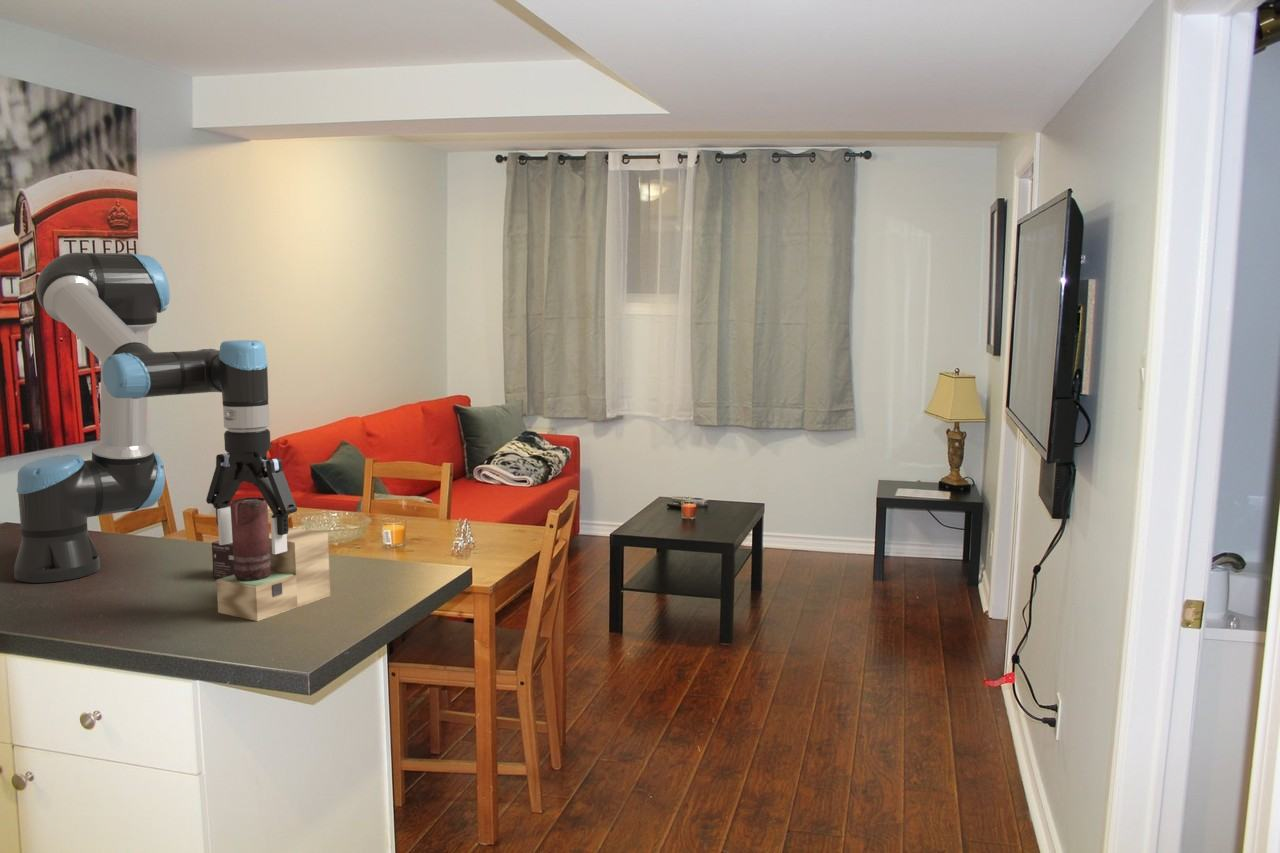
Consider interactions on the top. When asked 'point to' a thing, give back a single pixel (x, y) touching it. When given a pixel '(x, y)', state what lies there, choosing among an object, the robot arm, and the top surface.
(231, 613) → the stand
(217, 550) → the box
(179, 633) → the top surface
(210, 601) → the top surface
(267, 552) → the can
